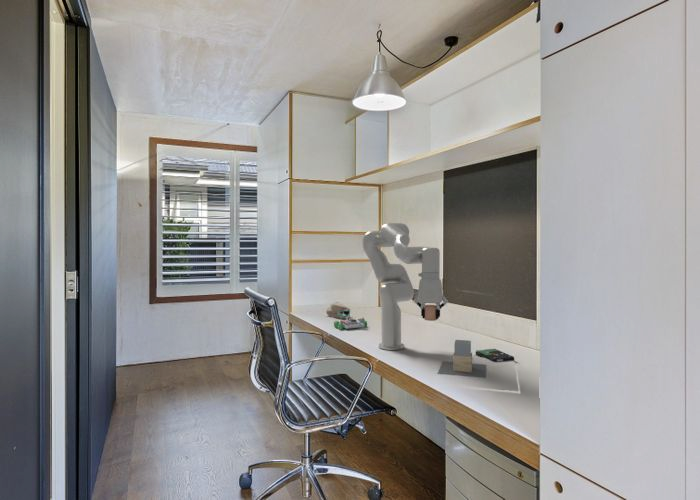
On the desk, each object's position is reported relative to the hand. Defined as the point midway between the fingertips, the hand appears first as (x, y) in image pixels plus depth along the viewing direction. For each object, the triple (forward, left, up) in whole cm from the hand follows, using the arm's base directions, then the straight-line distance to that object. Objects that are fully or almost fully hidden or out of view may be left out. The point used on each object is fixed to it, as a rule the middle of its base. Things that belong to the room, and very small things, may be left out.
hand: (430, 317), depth 189 cm
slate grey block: (+9, +14, -12) cm, 21 cm away
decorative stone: (-89, -75, -20) cm, 118 cm away
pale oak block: (+9, +14, -18) cm, 25 cm away
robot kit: (-63, -59, -20) cm, 89 cm away
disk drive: (-14, +26, -20) cm, 36 cm away
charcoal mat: (+9, +14, -19) cm, 26 cm away
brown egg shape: (0, 0, -1) cm, 1 cm away
